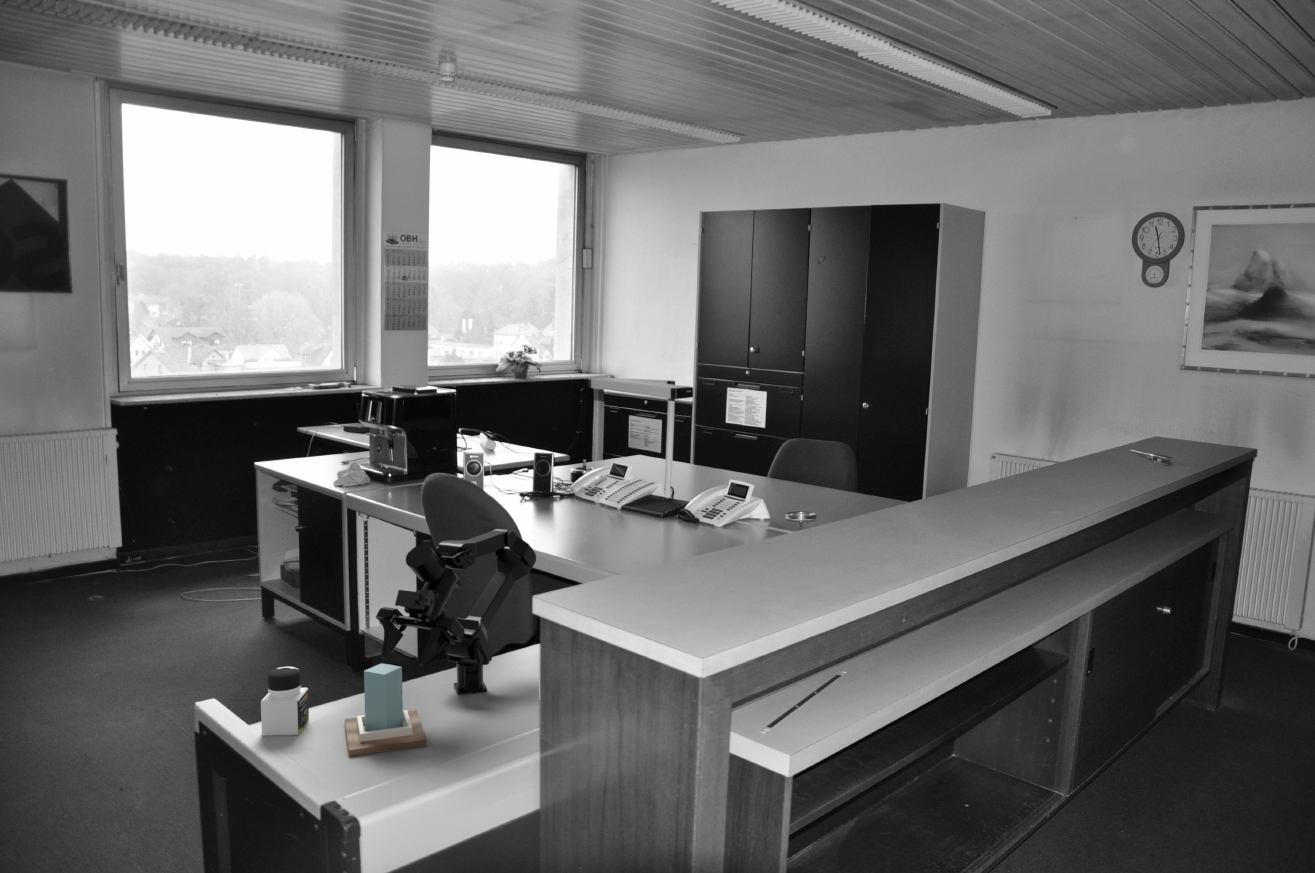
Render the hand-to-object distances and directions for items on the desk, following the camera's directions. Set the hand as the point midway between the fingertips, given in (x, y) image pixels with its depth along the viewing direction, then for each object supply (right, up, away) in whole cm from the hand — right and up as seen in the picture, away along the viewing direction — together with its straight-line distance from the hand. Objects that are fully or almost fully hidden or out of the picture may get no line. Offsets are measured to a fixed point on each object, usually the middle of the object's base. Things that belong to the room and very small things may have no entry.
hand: (401, 661), depth 189 cm
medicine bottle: (-23, -13, -1) cm, 26 cm away
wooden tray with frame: (-2, -13, -4) cm, 14 cm away
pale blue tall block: (-2, -12, -4) cm, 13 cm away
